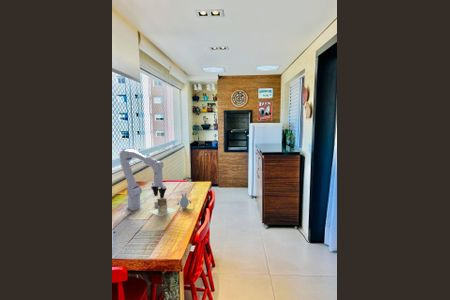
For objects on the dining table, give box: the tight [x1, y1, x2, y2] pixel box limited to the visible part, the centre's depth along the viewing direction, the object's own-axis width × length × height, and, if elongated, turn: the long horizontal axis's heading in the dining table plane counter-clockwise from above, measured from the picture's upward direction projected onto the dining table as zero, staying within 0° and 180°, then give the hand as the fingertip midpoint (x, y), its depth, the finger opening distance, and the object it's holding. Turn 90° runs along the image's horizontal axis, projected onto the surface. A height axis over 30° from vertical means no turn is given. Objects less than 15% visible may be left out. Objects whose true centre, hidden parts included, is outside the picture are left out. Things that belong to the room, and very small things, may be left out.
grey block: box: [153, 200, 158, 208], centre depth 178 cm, size 4×4×4 cm
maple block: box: [157, 205, 168, 213], centre depth 167 cm, size 4×4×4 cm
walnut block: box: [156, 197, 168, 207], centre depth 167 cm, size 4×4×4 cm
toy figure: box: [176, 192, 193, 210], centre depth 171 cm, size 11×6×12 cm, turn 113°
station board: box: [148, 206, 177, 217], centre depth 168 cm, size 14×14×1 cm
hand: (159, 196), depth 169 cm, fingers open, 7 cm apart
